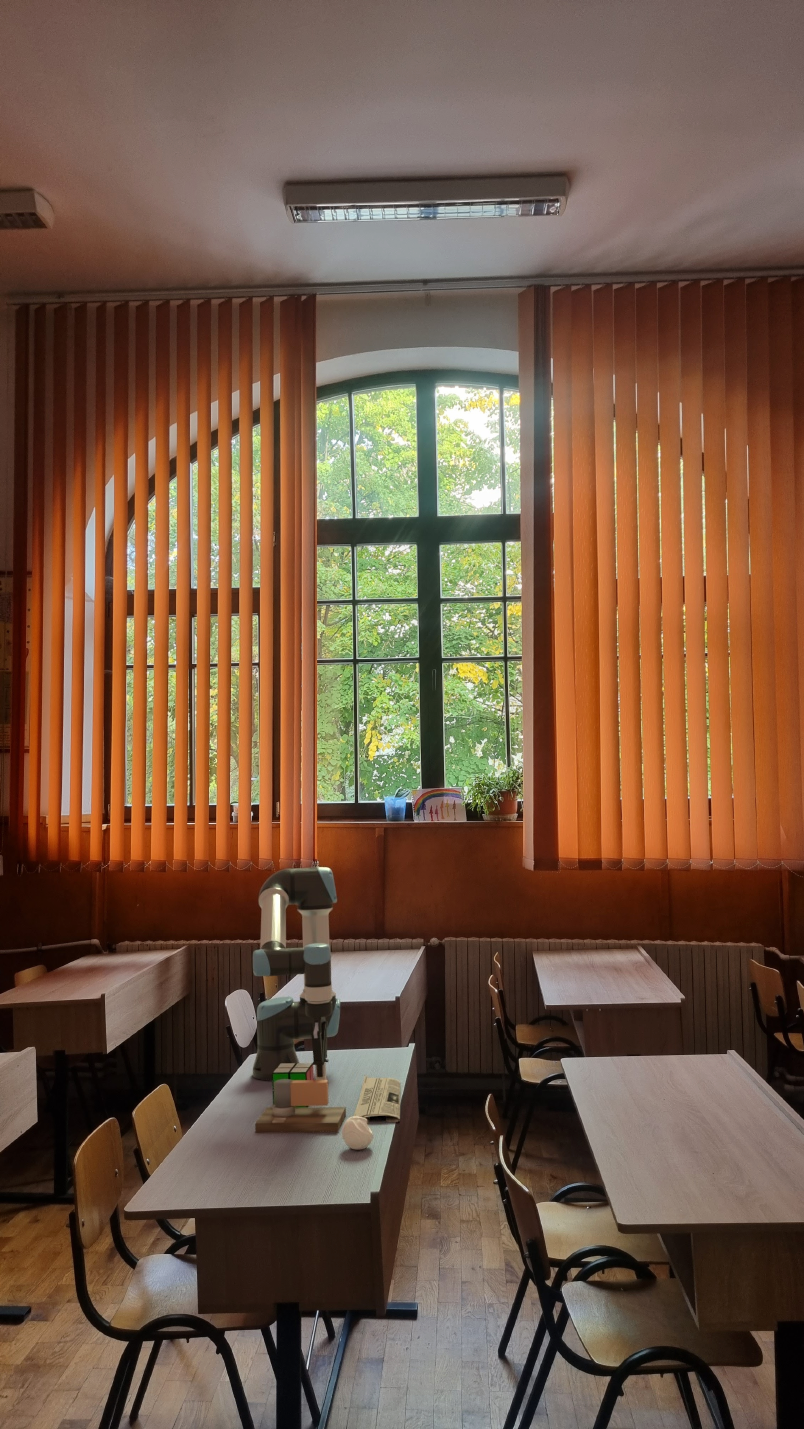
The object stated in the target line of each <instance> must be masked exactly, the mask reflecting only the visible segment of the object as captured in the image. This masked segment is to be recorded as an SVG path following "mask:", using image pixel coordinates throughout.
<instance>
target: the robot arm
mask: <svg viewBox="0 0 804 1429" xmlns="http://www.w3.org/2000/svg"><path fill="white" fill-rule="evenodd" d="M335 884H336V883H335V879H334V874H333V871H332V869H331V868H329V867H325V866H324V867H323V866H321V867H320V866H314V867H297V868H284V869H280V870H278V871H276V872H274V873H273V874H271V875H270V876H269V877H268V878H267V879H266V881H264V883H263V884H262V886H261V887H260V890H259V894H258V906H259V907H260V908H261V913H260V914H261V915H260V916H261V918H260V920H261V921H260V946H259V948H260V949H256V950H255V949H254V951H253V953H252V972H253V975H254V976H255V977H267V978H269V977H278V976H291V975H292V976H295V975H303V989H302V992H301V993H300V995H299V1000H297V1001H294V999H293V996H281V997H280V996H279V997H278V996H277V997H274V998H273V997H272V998H270V999H267V1000H264V1001H262V1002H260V1003H259V1005H258V1006H257V1008H256V1018H255V1019H256V1021H257V1022H256V1023H257V1024H256V1028H257V1032H256V1033H257V1034H256V1035H257V1038H256V1039H257V1052H256V1056H255V1060H254V1063H253V1066H252V1077H253V1078H254V1079H257V1080H260V1081H272V1073H273V1072H274V1071H275V1070H276V1069H277V1067H278V1066H279V1065H280V1064H284V1063H296V1064H297V1063H300V1061H299V1058H298V1055H297V1052H296V1049H295V1040H302V1039H303V1040H306V1039H311V1046H312V1047H311V1048H312V1057H313V1058H312V1059H313V1062H311V1063H312V1065H313V1066H314V1068H315V1070H314V1072H315V1080H327V1066H326V1065H327V1063H329V1059H328V1038H330V1037H335V1036H336V1035H337V1034H338V1032H339V1026H340V1025H339V1024H340V1015H341V999H340V998H337V997H336V992H335V991H334V990H333V984H332V952H331V946H330V926H329V925H330V922H329V919H330V918H329V917H330V916H329V913H330V912H332V911H333V909H334V904H336V903H337V902H338V898H337V890H336V886H335ZM289 905H294V906H295V905H296V908H297V909H296V910H297V912H298V913H300V914H301V917H302V918H301V920H302V921H301V924H302V947H288V948H287V924H286V923H287V922H286V921H287V913H286V912H287V910H286V909H287V907H288V906H289Z"/></svg>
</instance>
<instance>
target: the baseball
mask: <svg viewBox="0 0 804 1429" xmlns="http://www.w3.org/2000/svg"><path fill="white" fill-rule="evenodd" d="M341 1130H342V1131H341V1133H342V1139H343V1141H344V1143H345V1145H346V1146H347V1147H348V1148H349V1149H352V1150H355V1151H357V1150H364V1149H366V1148H368V1147H369V1146H370V1145H371V1144H372V1141H373V1139H374V1134H373V1132H372V1129H371V1128H370V1126H369V1125H368V1123H367V1119H365V1118H363V1117H362V1116H361V1117H358V1116H354V1115H353V1116H350V1117H348V1118H346V1120H345V1121H344V1122H343V1125H342V1129H341Z"/></svg>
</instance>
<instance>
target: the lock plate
mask: <svg viewBox="0 0 804 1429" xmlns="http://www.w3.org/2000/svg"><path fill="white" fill-rule="evenodd" d="M346 1108H347V1107H346V1106H328V1107H327V1106H319V1107H318V1106H308V1107H295V1106H289V1107H282V1108H281V1107H276V1106H275V1105H273V1104H272V1107H266V1109H264V1111H263V1112H262V1114H261V1115H260V1116H259V1117H258V1119H257V1120H256V1121H255V1122H254V1133H255V1134H264V1133H268V1134H272V1133H273V1134H275V1133H276V1134H278V1133H279V1134H280V1133H281V1134H282V1133H283V1134H287V1133H289V1134H290V1133H297V1134H299V1133H300V1134H301V1133H307V1134H308V1133H339V1132H340V1129H341V1127H342V1126H343V1124H344V1122H345V1118H346V1117H347V1112H346V1111H347V1110H346Z"/></svg>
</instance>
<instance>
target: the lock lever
mask: <svg viewBox="0 0 804 1429" xmlns="http://www.w3.org/2000/svg"><path fill="white" fill-rule="evenodd" d="M273 1091H274V1099H275V1106H276V1107H281V1108H282V1107H289V1106H308V1107H318V1106H319V1107H327V1106H328V1104H329V1103H330V1102H329V1080H328V1079H326V1080H316V1079H314V1080H290V1079H281V1080H277V1081H275V1082H274V1090H273Z"/></svg>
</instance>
